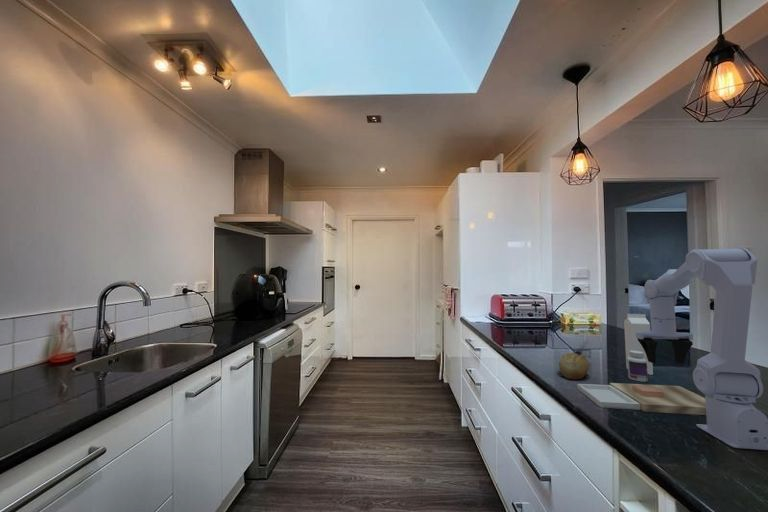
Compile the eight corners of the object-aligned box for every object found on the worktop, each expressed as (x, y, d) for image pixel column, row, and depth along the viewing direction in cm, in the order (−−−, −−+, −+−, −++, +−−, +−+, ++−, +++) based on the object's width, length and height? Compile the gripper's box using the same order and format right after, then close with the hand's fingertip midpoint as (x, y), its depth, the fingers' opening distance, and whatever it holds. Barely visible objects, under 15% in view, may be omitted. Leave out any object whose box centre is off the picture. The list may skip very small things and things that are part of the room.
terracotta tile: (650, 390, 91) (650, 385, 92) (663, 397, 86) (662, 391, 87) (632, 389, 92) (632, 384, 92) (643, 396, 87) (643, 391, 87)
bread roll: (591, 372, 115) (590, 351, 115) (588, 384, 103) (587, 360, 103) (562, 367, 121) (561, 347, 121) (557, 378, 109) (556, 356, 109)
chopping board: (679, 392, 95) (678, 385, 95) (728, 416, 79) (727, 408, 79) (609, 389, 98) (609, 382, 98) (644, 411, 82) (643, 404, 82)
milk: (626, 368, 118) (622, 312, 120) (644, 370, 116) (641, 313, 118) (634, 373, 112) (630, 314, 114) (653, 375, 111) (649, 315, 112)
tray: (610, 390, 97) (610, 385, 97) (640, 409, 83) (640, 404, 83) (577, 388, 99) (577, 383, 99) (601, 407, 85) (600, 401, 85)
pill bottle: (651, 382, 103) (650, 354, 104) (634, 381, 104) (632, 353, 105) (641, 377, 109) (640, 350, 109) (624, 376, 110) (623, 349, 110)
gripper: (678, 317, 96) (681, 359, 95) (628, 316, 98) (631, 358, 98) (697, 320, 89) (701, 366, 89) (643, 319, 92) (646, 364, 91)
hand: (665, 362), depth 93 cm, fingers open, 7 cm apart
